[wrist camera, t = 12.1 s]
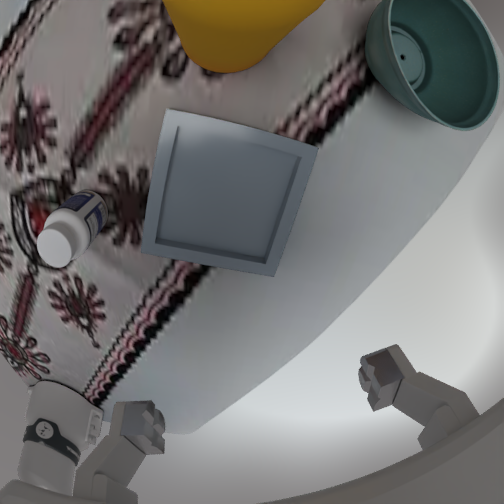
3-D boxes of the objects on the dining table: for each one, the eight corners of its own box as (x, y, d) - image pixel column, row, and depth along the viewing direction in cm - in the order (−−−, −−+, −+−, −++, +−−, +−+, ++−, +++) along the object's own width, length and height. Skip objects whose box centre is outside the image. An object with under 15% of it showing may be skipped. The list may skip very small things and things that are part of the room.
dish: (270, 268, 37) (273, 277, 35) (144, 244, 33) (140, 252, 31) (312, 145, 30) (318, 148, 29) (169, 109, 27) (166, 108, 25)
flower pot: (317, 4, 22) (361, -29, 13) (420, 3, 22) (475, -11, 12) (360, 130, 30) (416, 144, 21) (451, 109, 29) (508, 121, 20)
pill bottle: (62, 213, 30) (23, 249, 21) (84, 180, 28) (44, 209, 20) (93, 240, 32) (63, 284, 23) (117, 209, 31) (87, 247, 22)
